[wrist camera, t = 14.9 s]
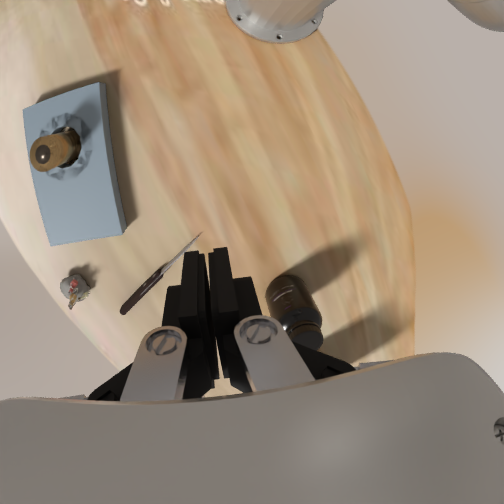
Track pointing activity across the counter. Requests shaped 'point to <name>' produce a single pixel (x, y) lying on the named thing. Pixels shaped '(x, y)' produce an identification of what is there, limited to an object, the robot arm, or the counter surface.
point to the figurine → (74, 289)
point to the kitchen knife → (150, 283)
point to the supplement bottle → (295, 310)
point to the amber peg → (55, 150)
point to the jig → (77, 168)
